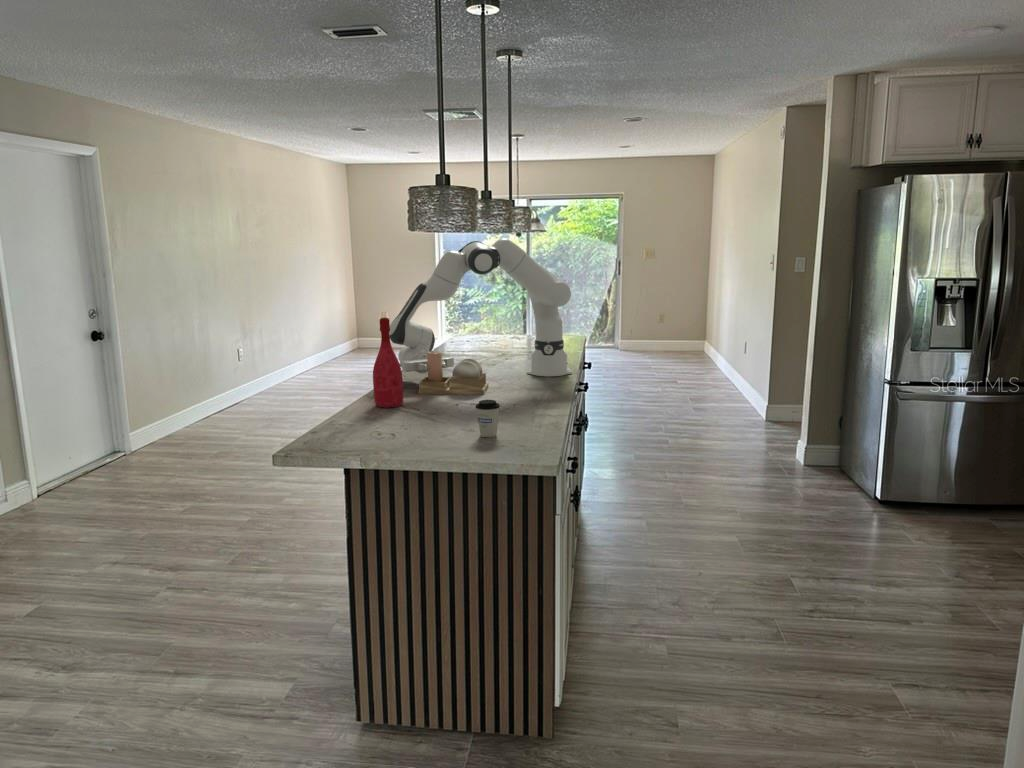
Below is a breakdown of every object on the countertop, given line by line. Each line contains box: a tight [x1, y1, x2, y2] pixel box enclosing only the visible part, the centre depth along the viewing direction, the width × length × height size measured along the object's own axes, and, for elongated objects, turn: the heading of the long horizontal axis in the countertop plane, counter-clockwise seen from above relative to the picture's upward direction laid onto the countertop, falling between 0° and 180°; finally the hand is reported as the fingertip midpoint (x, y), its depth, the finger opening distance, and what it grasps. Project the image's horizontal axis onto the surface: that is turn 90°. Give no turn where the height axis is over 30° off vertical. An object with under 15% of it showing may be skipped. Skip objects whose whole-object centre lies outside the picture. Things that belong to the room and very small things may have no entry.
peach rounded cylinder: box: [427, 351, 444, 382], centre depth 255 cm, size 6×6×11 cm
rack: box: [418, 357, 489, 395], centre depth 255 cm, size 13×24×12 cm, turn 84°
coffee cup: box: [475, 399, 501, 438], centre depth 194 cm, size 7×7×10 cm
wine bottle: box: [372, 317, 404, 409], centre depth 231 cm, size 10×10×30 cm
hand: (435, 366), depth 254 cm, fingers closed on peach rounded cylinder, 5 cm apart
